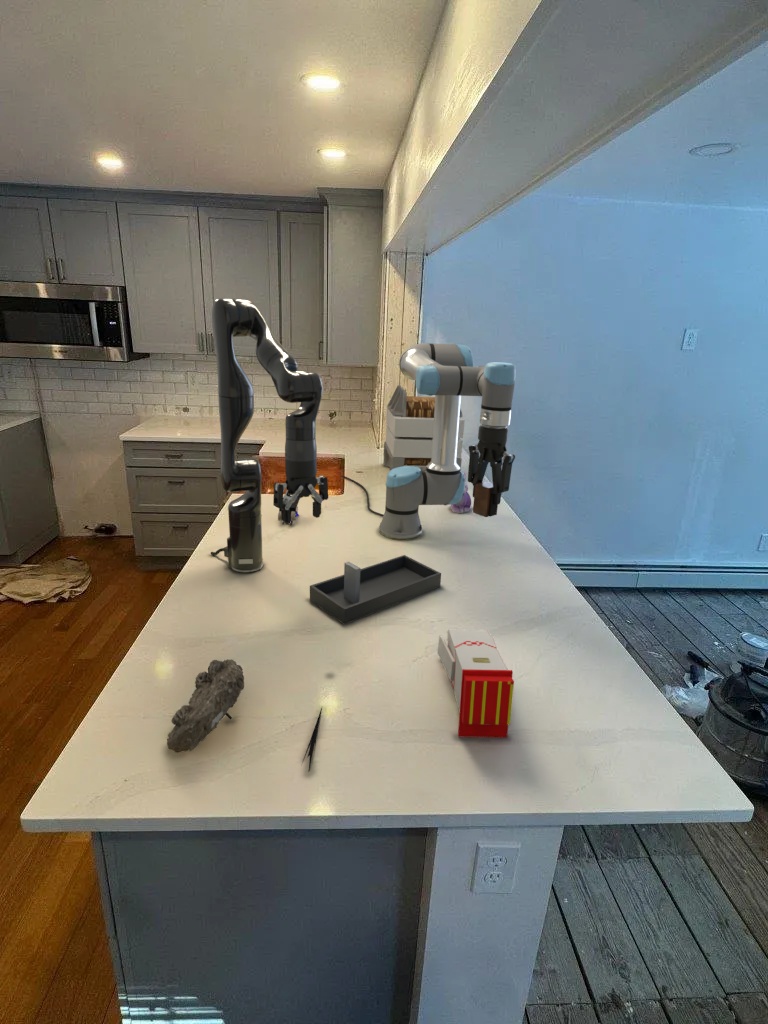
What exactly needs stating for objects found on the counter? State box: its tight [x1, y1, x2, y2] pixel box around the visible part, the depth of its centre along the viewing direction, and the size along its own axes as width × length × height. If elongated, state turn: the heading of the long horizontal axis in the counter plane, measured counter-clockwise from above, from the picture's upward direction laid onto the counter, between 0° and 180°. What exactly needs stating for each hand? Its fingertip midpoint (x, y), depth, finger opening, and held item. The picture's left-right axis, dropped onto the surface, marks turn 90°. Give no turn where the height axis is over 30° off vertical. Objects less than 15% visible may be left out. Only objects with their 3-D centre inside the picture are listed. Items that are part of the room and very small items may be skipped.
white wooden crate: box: [383, 384, 465, 472], centre depth 268 cm, size 34×33×41 cm
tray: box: [309, 554, 442, 625], centre depth 156 cm, size 16×34×11 cm, turn 131°
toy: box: [437, 628, 515, 738], centre depth 117 cm, size 12×13×30 cm
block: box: [472, 481, 493, 518], centre depth 150 cm, size 4×4×8 cm
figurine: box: [449, 472, 472, 514], centre depth 224 cm, size 9×10×15 cm
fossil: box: [166, 658, 245, 754], centre depth 106 cm, size 22×10×15 cm
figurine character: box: [277, 495, 301, 526], centre depth 207 cm, size 7×8×15 cm
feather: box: [301, 673, 332, 771], centre depth 108 cm, size 2×28×2 cm
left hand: (301, 519), depth 141 cm, fingers open, 8 cm apart
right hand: (484, 512), depth 151 cm, fingers closed on block, 4 cm apart
